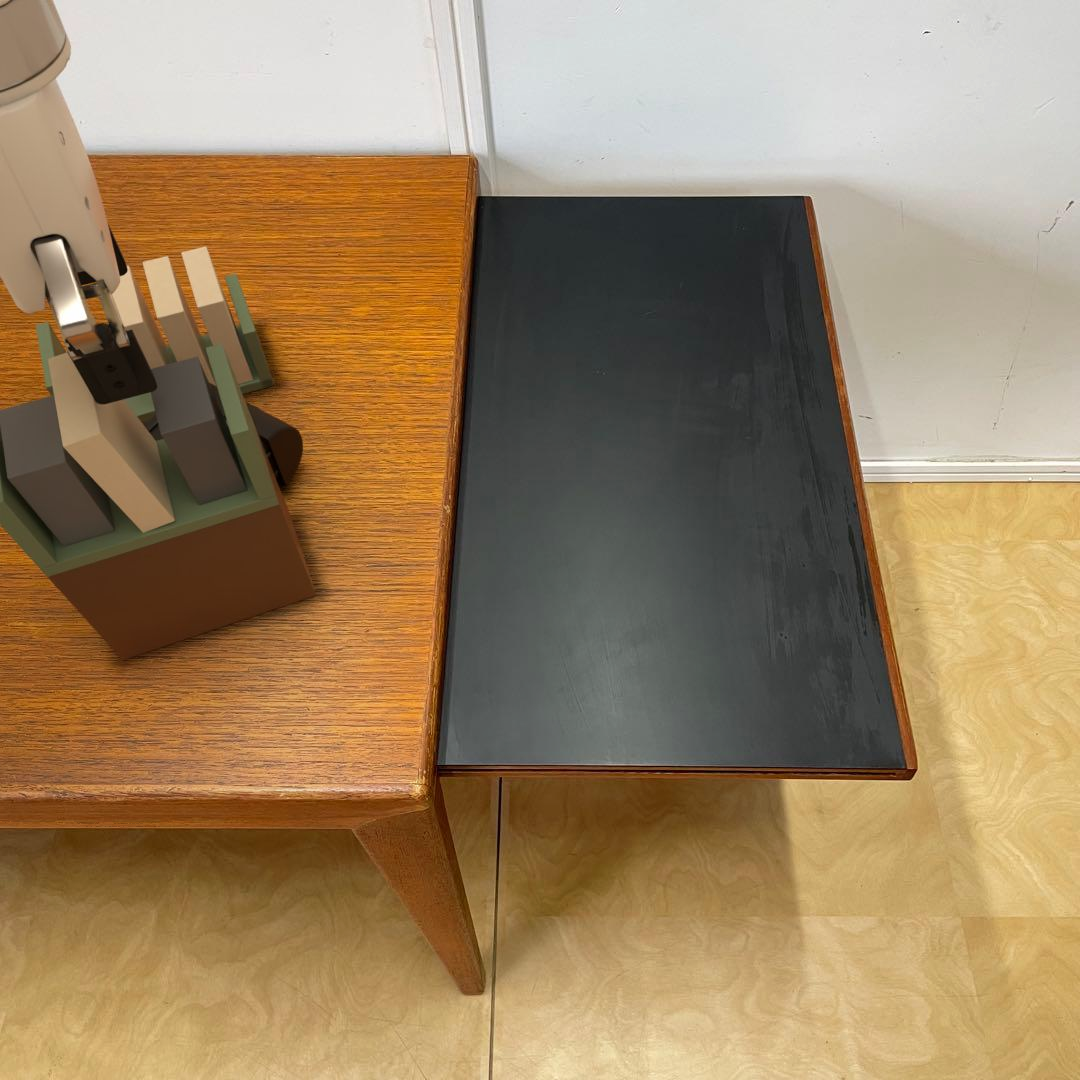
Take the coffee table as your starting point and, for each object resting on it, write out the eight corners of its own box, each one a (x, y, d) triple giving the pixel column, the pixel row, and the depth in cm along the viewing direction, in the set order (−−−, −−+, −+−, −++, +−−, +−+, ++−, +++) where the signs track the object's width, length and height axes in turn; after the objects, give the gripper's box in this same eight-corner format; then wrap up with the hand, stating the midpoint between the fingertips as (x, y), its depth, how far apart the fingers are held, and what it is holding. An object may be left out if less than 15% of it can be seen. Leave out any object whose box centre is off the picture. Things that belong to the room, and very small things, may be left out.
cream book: (143, 533, 55) (62, 446, 47) (125, 452, 58) (47, 358, 50) (175, 521, 55) (100, 432, 47) (156, 441, 58) (83, 346, 50)
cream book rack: (81, 440, 75) (24, 355, 66) (69, 379, 78) (14, 291, 70) (274, 385, 78) (244, 297, 70) (255, 329, 81) (224, 239, 73)
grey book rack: (122, 660, 65) (-22, 501, 48) (107, 580, 68) (-33, 404, 51) (316, 595, 68) (246, 423, 51) (292, 521, 71) (219, 337, 54)
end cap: (312, 465, 74) (295, 411, 68) (254, 529, 70) (230, 477, 65) (217, 414, 76) (192, 358, 71) (157, 473, 73) (126, 419, 67)
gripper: (-145, -58, 41) (27, 252, 55) (-136, 172, 32) (64, 467, 47) (33, -84, 42) (154, 223, 57) (86, 127, 34) (212, 425, 48)
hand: (114, 333), depth 52 cm, fingers open, 9 cm apart
